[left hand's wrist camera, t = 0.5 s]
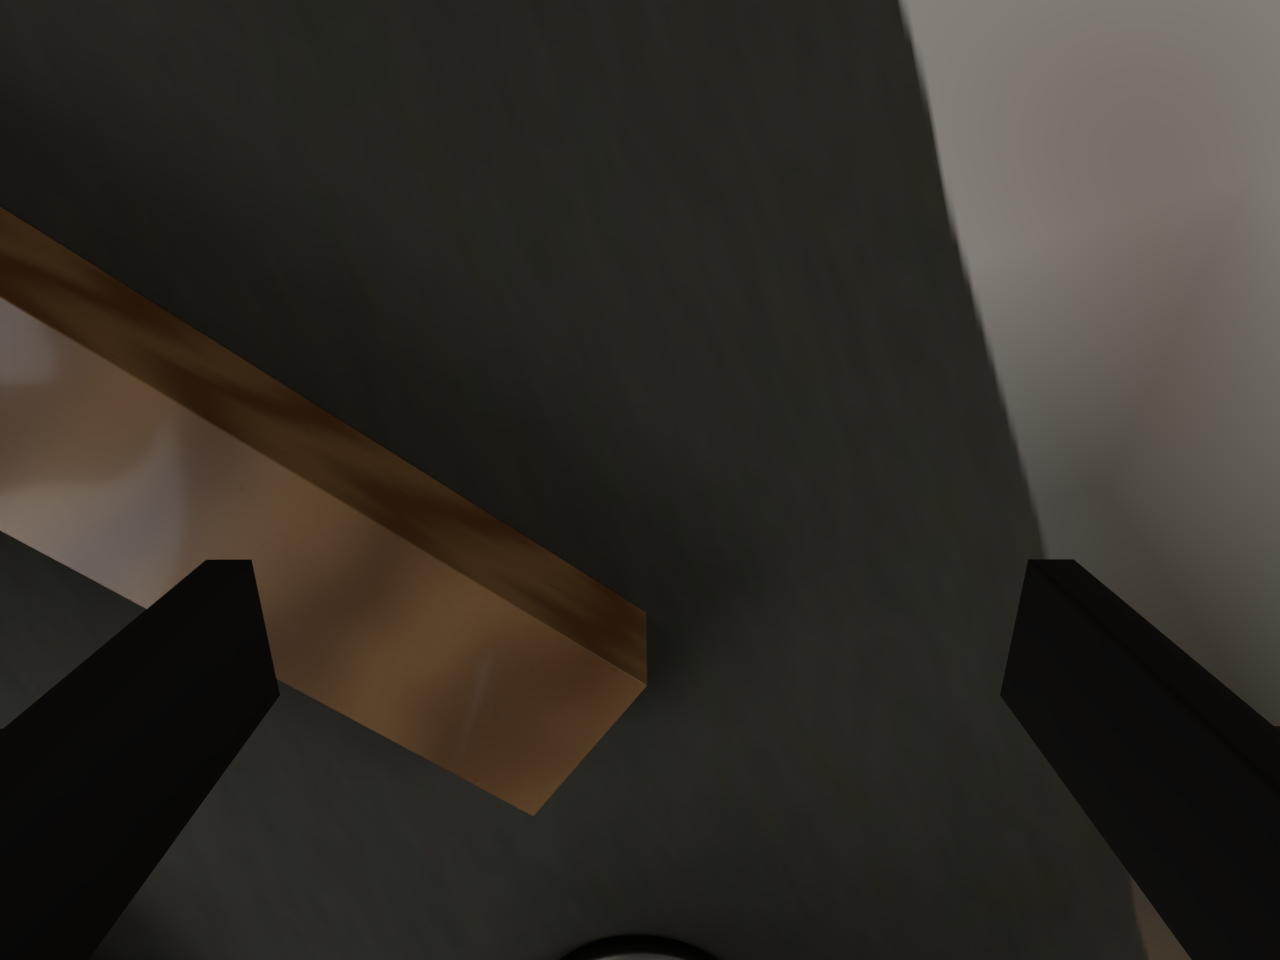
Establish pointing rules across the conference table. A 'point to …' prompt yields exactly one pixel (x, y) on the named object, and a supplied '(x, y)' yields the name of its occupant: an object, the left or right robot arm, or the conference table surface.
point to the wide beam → (297, 532)
